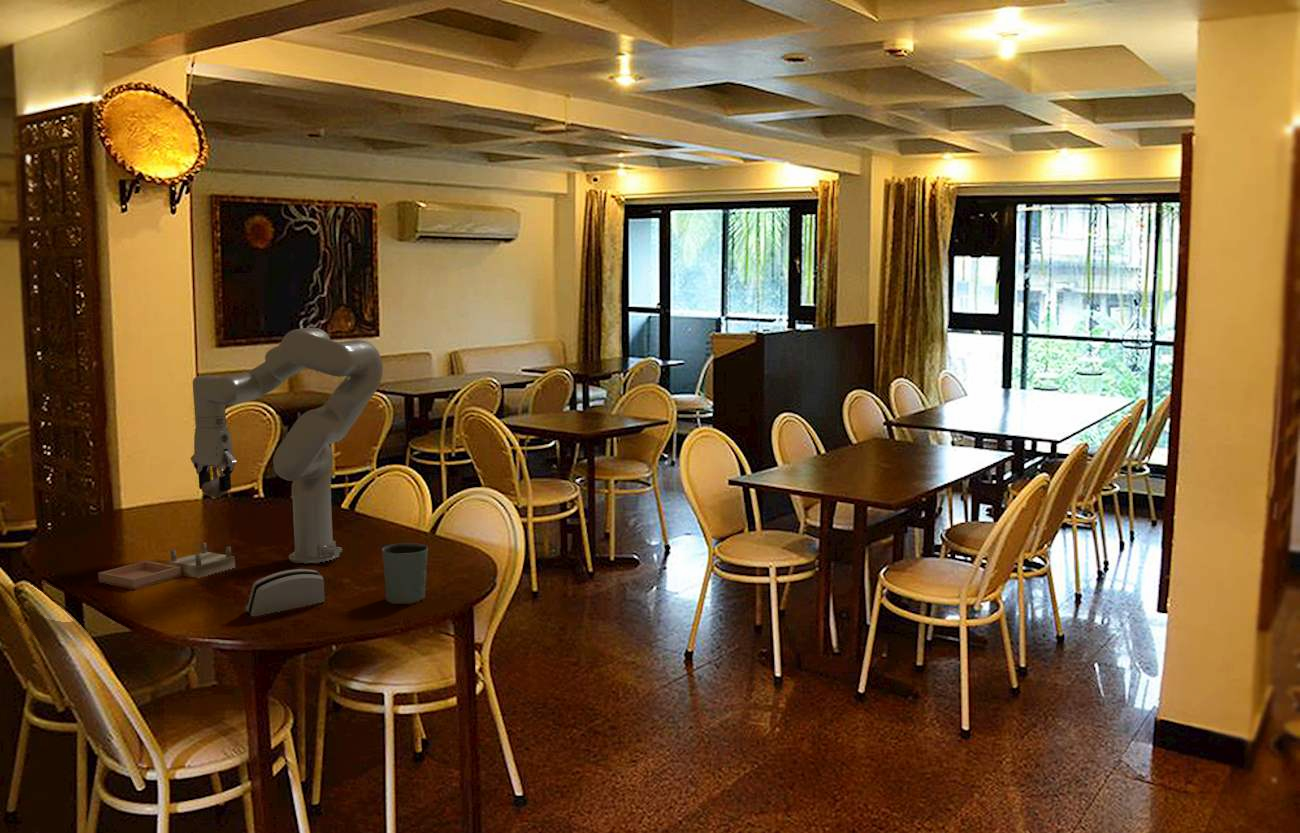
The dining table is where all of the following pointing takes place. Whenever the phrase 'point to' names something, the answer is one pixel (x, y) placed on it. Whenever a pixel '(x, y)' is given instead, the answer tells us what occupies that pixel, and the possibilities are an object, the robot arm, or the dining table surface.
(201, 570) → the peg rest
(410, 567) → the grey green cup
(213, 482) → the garlic bulb
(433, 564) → the dining table surface
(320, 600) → the grey arched block
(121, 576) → the terracotta dish
